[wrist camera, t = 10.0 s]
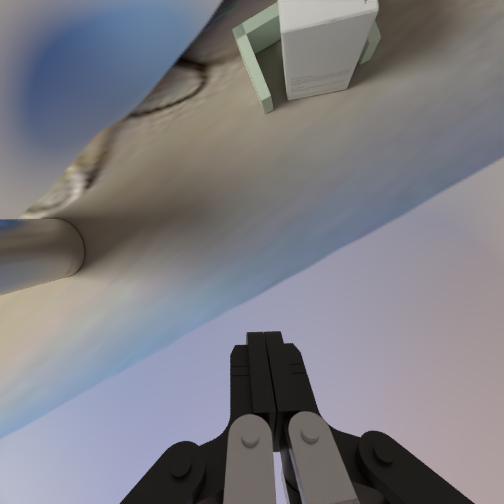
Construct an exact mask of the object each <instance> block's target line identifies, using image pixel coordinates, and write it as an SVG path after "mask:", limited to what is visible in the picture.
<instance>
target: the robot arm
mask: <svg viewBox="0 0 504 504" xmlns="http://www.w3.org/2000/svg"><path fill="white" fill-rule="evenodd" d="M83 260H84V245H83V241H82V239H81V236H80V235H79V233H78V232H77V230H76V229H75V228H74V227H73V226H72V225H71V224H69V223H68V222H66V221H64V220H61V219H0V295H3V294H7V293H11V292H14V291H18V290H22V289H25V288H29V287H33V286H36V285H40V284H44V283H47V282H51V281H54V280H58V279H62V278H65V277H69V276H71V275H73V274H75V273H76V272H77V271H78V270H79V268H80V267H81V265H82V262H83ZM230 358H231V359H230V382H231V383H230V384H231V385H230V391H231V392H230V396H231V398H230V403H231V404H230V408H231V409H230V411H231V412H230V413H231V414H230V420H229V423H228V426H227V427H226V429H225V430H224V432H223V433H222V434H221V435H220V436H218V437H217V438H216V439H214V440H212V441H209V442H207V443H205V444H203V445H201V446H198V445H197V444H195V443H193V442H190V441H182V442H178V443H176V444H174V445H172V446H171V447H169V448H168V449H167V450H166V451H165V452H164V454H162V456H161V457H160V458H159V459H158V460H157V461H156V463H155V464H154V465H153V466H152V467H151V468H150V469H149V471H148V472H147V473H146V474H145V475H144V476H143V477H142V479H141V480H140V481H139V482H138V483H137V484H136V486H135V487H134V488H133V489H132V490H131V491H130V492H129V494H128V495H127V496H126V497H125V498H124V499H123V500H122V502H121V503H120V504H276V492H275V476H274V462H273V452H280V453H281V460H282V472H281V473H282V474H281V475H282V483H283V487H284V492H285V497H286V502H287V504H474V503H473V502H472V501H471V500H469V499H468V498H467V497H465V496H464V495H463V494H462V493H461V492H459V491H458V490H456V489H455V488H454V487H453V486H452V485H450V484H449V483H448V482H447V481H445V480H444V479H443V478H442V477H440V476H439V475H438V474H436V473H435V472H434V471H433V470H432V469H430V468H429V467H428V466H426V465H425V464H424V463H423V462H421V461H420V460H419V459H417V458H416V457H415V456H414V455H413V454H411V453H410V452H409V451H408V450H406V449H405V448H404V447H402V446H401V445H400V444H398V443H397V442H396V441H395V440H394V439H392V438H391V437H390V436H388V435H386V434H384V433H382V432H378V431H368V432H366V433H364V434H363V435H362V436H361V437H357V436H354V435H351V434H347V433H344V432H341V431H338V430H336V429H334V428H333V427H331V426H330V425H328V424H327V422H326V421H325V420H324V419H323V418H322V416H321V415H320V413H319V410H318V408H317V405H316V401H315V398H314V395H313V391H312V389H311V385H310V382H309V378H308V375H307V373H306V369H305V365H304V362H303V359H302V356H301V353H300V351H299V350H298V349H297V348H296V347H295V346H294V344H293V343H287V344H284V342H283V338H282V334H281V332H280V331H273V332H264V333H263V332H247V337H246V345H235V347H234V349H233V351H232V353H231V355H230Z"/></svg>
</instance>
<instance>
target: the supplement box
mask: <svg viewBox="0 0 504 504" xmlns="http://www.w3.org/2000/svg"><path fill="white" fill-rule="evenodd" d="M278 9H279V21H280V33H281V41H282V53H283V64H284V74H285V83H286V92H287V98H288V100H293V99H299V98H304V97H309V96H315V95H320V94H325V93H330V92H335V91H340V90H346V89H347V87H348V84H349V82H350V79H351V77H352V75H353V72H354V70H355V67H356V65H357V62H358V60H359V57H360V55H361V52H362V50H363V48H364V45H365V43H366V40H367V38H368V35H369V33H370V30H371V28H372V26H373V23H374V21H375V18H376V16H377V14H378V11H379V3H378V0H278Z"/></svg>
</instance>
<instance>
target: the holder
mask: <svg viewBox="0 0 504 504" xmlns="http://www.w3.org/2000/svg"><path fill="white" fill-rule="evenodd" d="M232 31H233V34H234V37H235V40H236V43H237V46H238V49H239V52H240V54H241V57H242V59H243V62H244V64H245V67H246V69H247V72H248V74H249V76H250V79H251V81H252V84H253V86H254V89H255V91H256V94H257V96H258V99H259V101H260V103H261V106H262V108H263V111H264V113H265V114H267V113H268V112H270V111H272V110H274V109H273V104H272V98H271V95H270V92H269V90H268V87H267V85H266V82H265V80H264V77H263V75H262V72H261V70H260V67H259V65H258V62H257V60H256V57H255V55H254V54H256V53H258V52H260V51H261V50H263V49H265V48H267V47H268V46H270V45H272V44H274V43H275V42H277V41H279V40H281V33H280V21H279V9H278V2H277V3H275V4H273V5H272V6H270V7H268V8H267V9H265V10H263V11H262V12H260V13H258V14H257V15H255V16H253V17H252V18H250V19H248V20H247V21H245V22H243V23H242V24H240V25H239V26H237V27H235V28H234V29H232ZM380 39H381V35H380V32H379V29H378V26H377V24H376V21H374V23H373V26H372V28H371V30H370V33H369V35H368V38H367V40H366V43H365V45H364V48H363V50H362V52H361V55H360V57H359V60H358V61H359V64H360V65H361V64H363V63H365V62H367V61H369V60H370V59H371V57H372V55H373V53H374V51H375V49H376V47H377V45H378V43H379V41H380Z"/></svg>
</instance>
